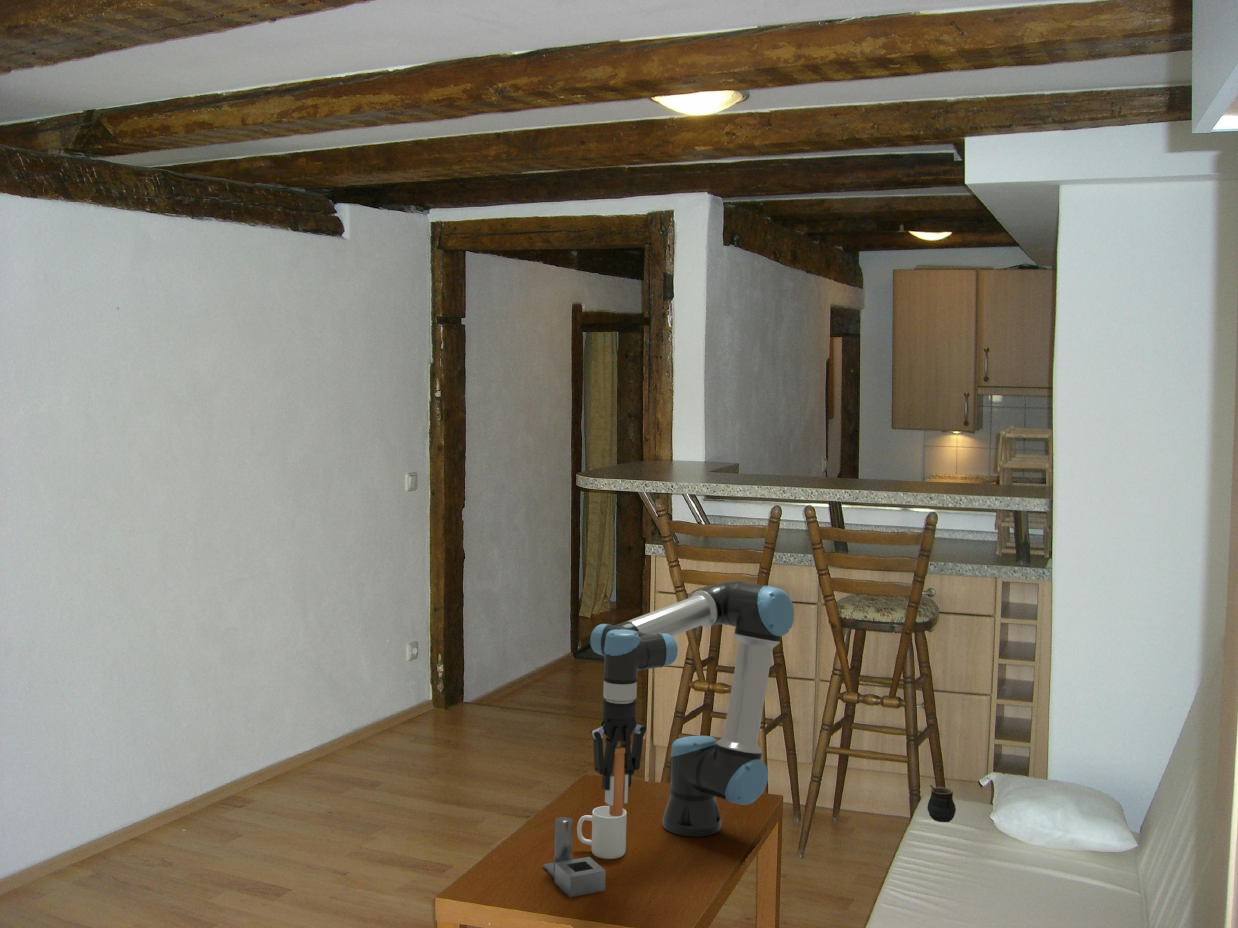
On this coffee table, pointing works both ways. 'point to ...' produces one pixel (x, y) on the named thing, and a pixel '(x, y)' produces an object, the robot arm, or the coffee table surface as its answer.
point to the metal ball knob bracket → (573, 865)
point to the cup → (605, 833)
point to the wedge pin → (618, 781)
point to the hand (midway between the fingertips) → (616, 802)
